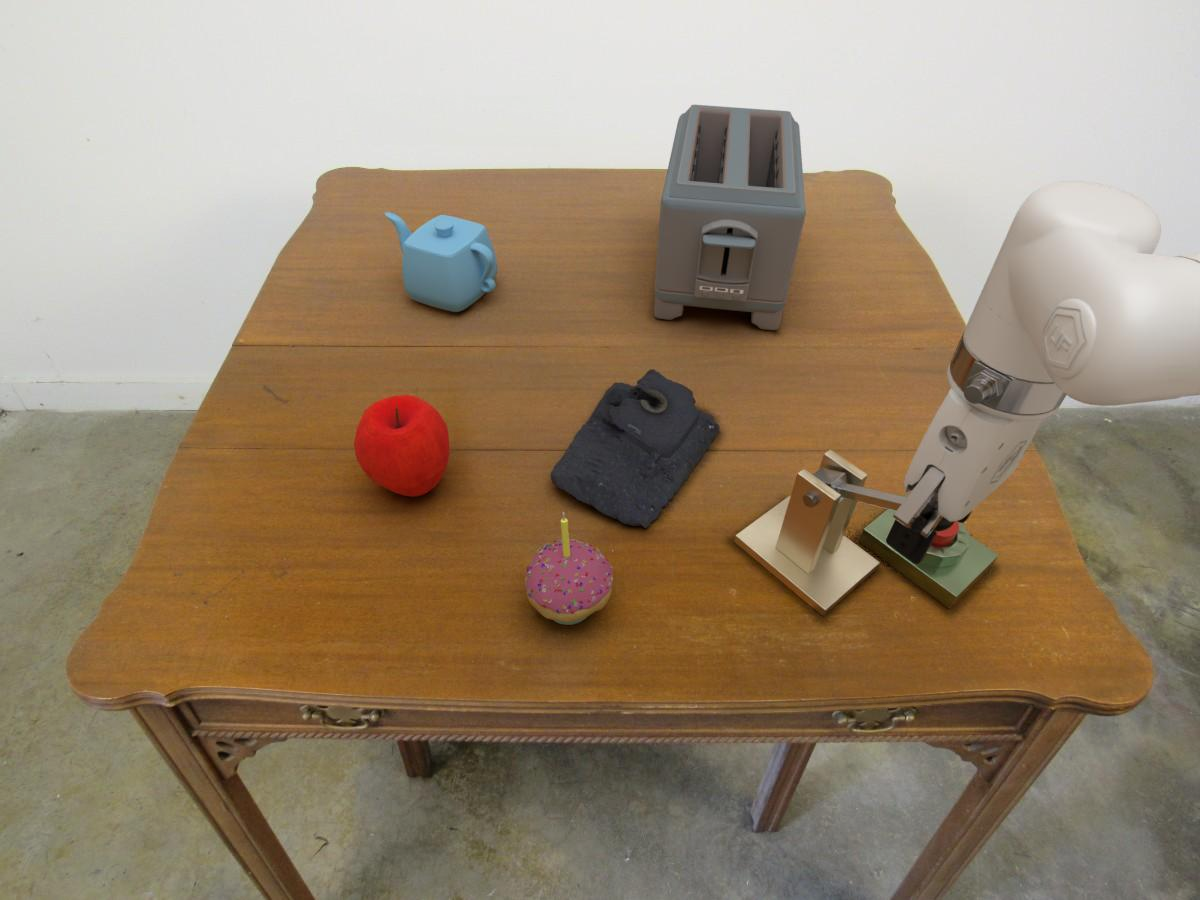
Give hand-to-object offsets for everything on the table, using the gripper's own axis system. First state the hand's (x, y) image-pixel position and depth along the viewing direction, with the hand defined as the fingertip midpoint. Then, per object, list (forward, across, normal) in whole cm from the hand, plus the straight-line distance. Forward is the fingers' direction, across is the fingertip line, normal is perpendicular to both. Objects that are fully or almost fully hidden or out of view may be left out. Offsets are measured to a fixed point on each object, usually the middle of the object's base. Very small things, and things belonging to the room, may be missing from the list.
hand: (926, 530), depth 63 cm
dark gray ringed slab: (+14, -4, +33) cm, 36 cm away
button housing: (+14, +10, +2) cm, 17 cm away
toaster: (+14, +32, +53) cm, 63 cm away
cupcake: (+14, -23, +21) cm, 34 cm away
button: (+10, +10, +2) cm, 14 cm away
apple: (+14, -27, +45) cm, 54 cm away
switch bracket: (+14, 0, +10) cm, 17 cm away
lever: (+2, 0, +4) cm, 4 cm away
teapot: (+14, -3, +77) cm, 78 cm away
